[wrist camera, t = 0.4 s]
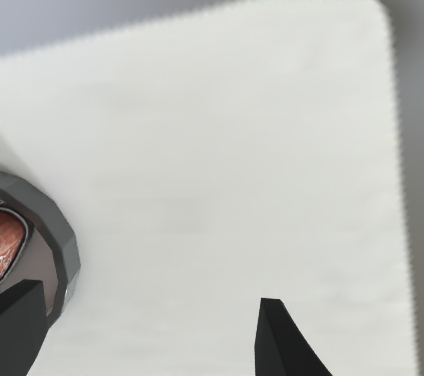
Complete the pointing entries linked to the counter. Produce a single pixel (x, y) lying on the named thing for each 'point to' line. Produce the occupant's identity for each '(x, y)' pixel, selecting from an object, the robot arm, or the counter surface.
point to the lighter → (12, 238)
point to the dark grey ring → (47, 235)
